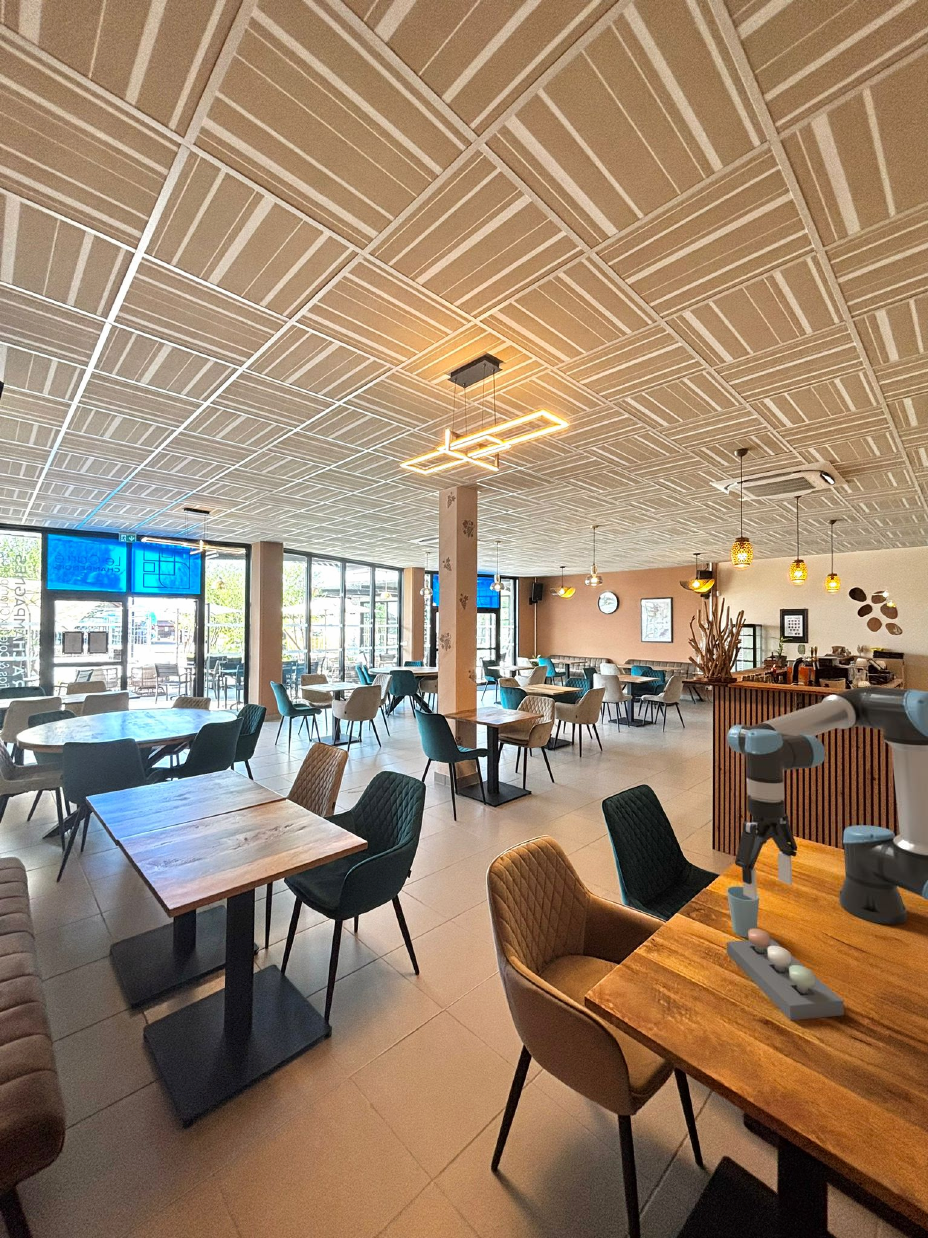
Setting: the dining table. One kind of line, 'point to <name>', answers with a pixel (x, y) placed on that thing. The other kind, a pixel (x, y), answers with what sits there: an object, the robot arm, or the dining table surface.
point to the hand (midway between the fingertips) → (768, 889)
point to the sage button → (802, 978)
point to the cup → (742, 911)
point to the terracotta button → (759, 939)
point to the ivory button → (779, 957)
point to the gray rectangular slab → (784, 984)
